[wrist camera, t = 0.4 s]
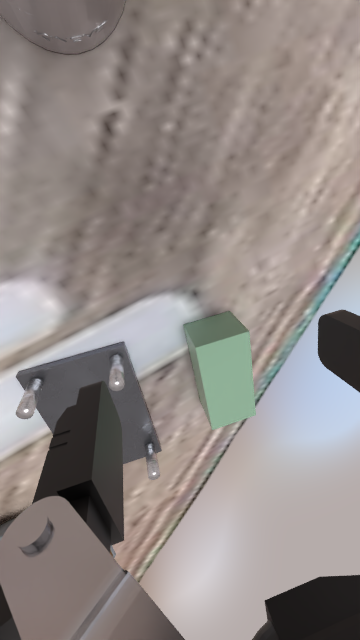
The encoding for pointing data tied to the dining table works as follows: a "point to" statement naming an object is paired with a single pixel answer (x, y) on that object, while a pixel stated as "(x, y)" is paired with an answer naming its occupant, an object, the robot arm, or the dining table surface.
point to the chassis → (84, 369)
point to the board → (222, 368)
